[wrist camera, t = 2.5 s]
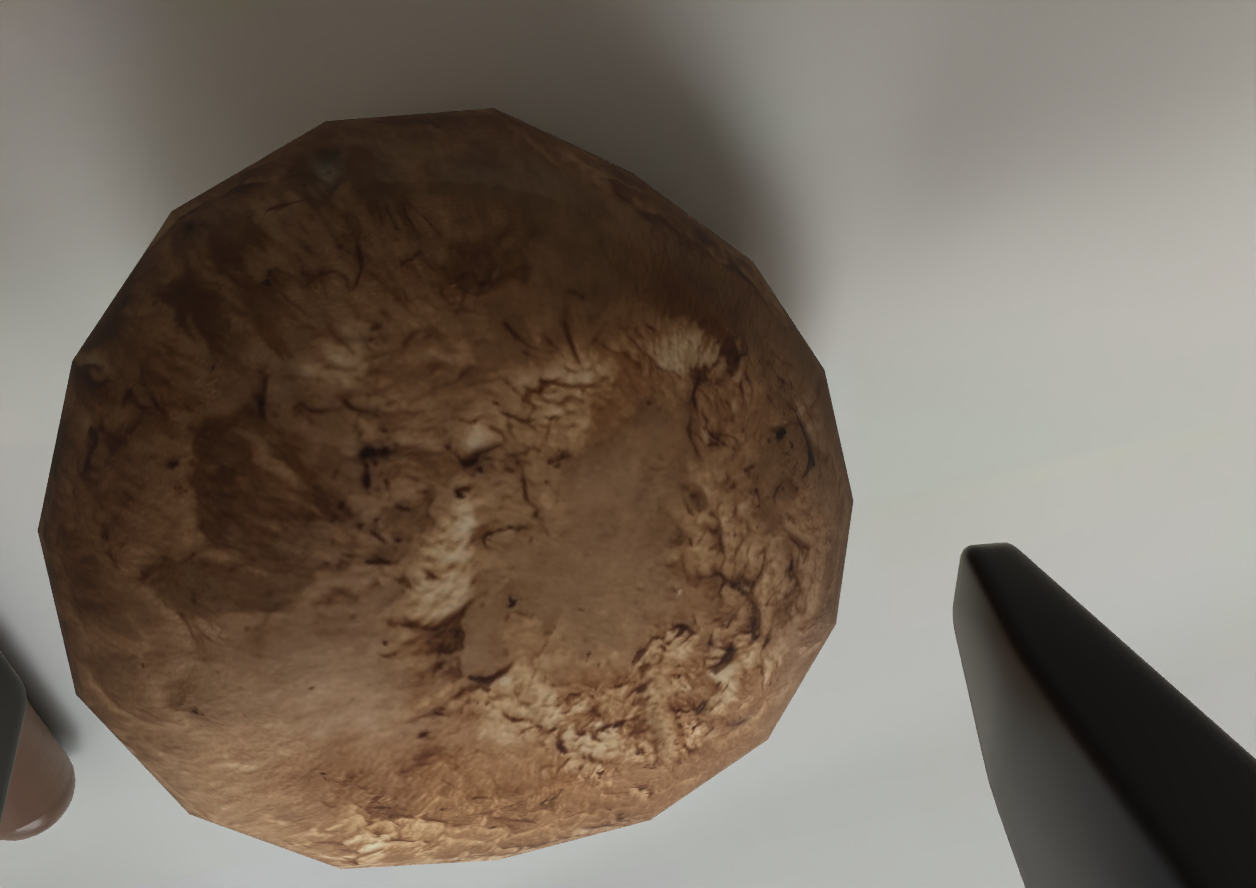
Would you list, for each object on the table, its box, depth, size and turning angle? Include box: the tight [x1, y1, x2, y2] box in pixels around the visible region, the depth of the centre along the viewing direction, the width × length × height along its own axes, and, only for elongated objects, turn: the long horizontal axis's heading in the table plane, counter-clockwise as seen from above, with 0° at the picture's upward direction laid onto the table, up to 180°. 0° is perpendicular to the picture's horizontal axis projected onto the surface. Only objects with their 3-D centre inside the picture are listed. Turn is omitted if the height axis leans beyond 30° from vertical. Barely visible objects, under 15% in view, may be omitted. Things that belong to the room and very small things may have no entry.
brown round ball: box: [38, 108, 853, 869], centre depth 12 cm, size 8×8×6 cm
